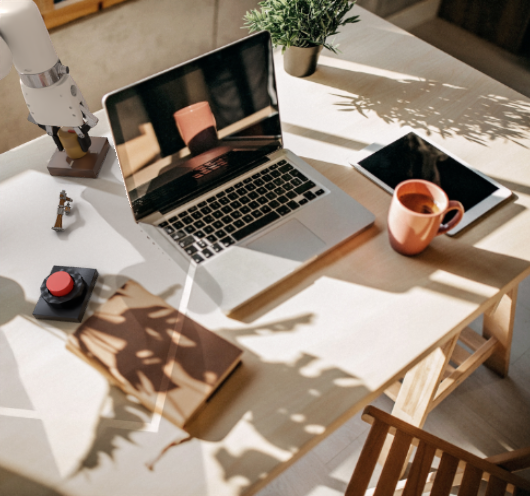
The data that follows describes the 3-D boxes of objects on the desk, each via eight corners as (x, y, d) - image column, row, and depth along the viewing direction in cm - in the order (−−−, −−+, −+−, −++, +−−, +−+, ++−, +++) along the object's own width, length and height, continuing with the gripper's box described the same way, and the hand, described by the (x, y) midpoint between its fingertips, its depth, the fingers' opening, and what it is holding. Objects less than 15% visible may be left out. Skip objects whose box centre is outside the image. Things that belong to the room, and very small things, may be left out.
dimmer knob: (63, 158, 103) (53, 136, 99) (71, 143, 106) (61, 122, 101) (84, 159, 103) (74, 138, 98) (90, 144, 106) (81, 123, 101)
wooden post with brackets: (76, 195, 99) (66, 188, 95) (70, 234, 98) (59, 229, 93) (68, 195, 99) (57, 188, 95) (61, 234, 98) (50, 228, 93)
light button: (46, 295, 83) (42, 290, 82) (55, 275, 85) (51, 270, 84) (69, 297, 83) (65, 292, 81) (77, 277, 85) (73, 272, 84)
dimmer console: (50, 175, 104) (46, 166, 102) (67, 143, 110) (63, 133, 108) (96, 178, 103) (92, 169, 101) (110, 145, 109) (107, 136, 107)
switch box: (35, 319, 84) (27, 309, 81) (57, 270, 90) (49, 259, 87) (81, 323, 83) (73, 313, 81) (99, 273, 89) (93, 262, 86)
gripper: (92, 60, 90) (119, 137, 105) (5, 56, 92) (43, 133, 106) (79, 86, 86) (109, 162, 101) (-13, 81, 87) (30, 157, 102)
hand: (75, 146), depth 103 cm, fingers closed on dimmer knob, 4 cm apart
